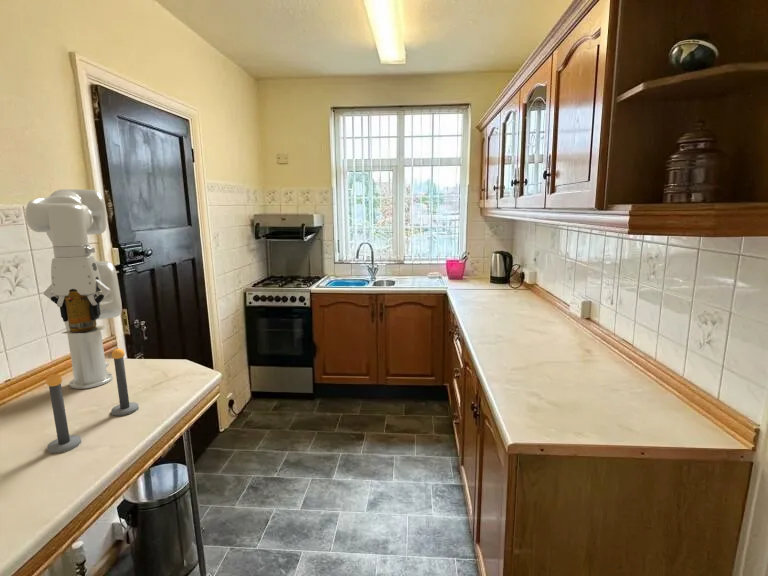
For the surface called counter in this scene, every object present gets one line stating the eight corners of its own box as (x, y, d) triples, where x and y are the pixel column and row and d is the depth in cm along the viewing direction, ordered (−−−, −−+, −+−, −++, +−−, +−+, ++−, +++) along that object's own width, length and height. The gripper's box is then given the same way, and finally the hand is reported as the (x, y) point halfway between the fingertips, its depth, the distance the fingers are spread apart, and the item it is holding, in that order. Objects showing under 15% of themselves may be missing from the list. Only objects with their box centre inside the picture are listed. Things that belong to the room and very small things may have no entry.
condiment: (80, 326, 119) (74, 283, 116) (110, 326, 119) (105, 283, 116) (60, 334, 112) (53, 289, 109) (92, 334, 111) (86, 289, 109)
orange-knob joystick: (56, 440, 114) (45, 370, 110) (86, 437, 115) (75, 368, 111) (41, 454, 107) (28, 381, 103) (73, 451, 108) (61, 378, 105)
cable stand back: (117, 406, 133) (109, 345, 129) (141, 404, 134) (134, 344, 130) (107, 417, 126) (99, 353, 122) (133, 414, 127) (126, 351, 123)
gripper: (114, 250, 116) (122, 314, 120) (42, 251, 113) (53, 317, 116) (102, 253, 109) (111, 321, 113) (25, 255, 106) (37, 325, 109)
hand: (81, 318), depth 114 cm, fingers closed on condiment, 6 cm apart
